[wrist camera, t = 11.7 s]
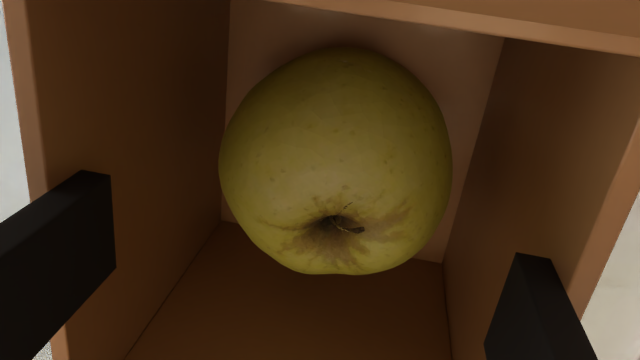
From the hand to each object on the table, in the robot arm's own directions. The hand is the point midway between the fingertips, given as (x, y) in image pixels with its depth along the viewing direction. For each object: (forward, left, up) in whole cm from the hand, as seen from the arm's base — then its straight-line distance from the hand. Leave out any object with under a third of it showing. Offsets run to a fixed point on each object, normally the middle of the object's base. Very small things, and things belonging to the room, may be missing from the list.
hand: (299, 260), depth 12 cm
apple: (0, 0, -11) cm, 11 cm away
